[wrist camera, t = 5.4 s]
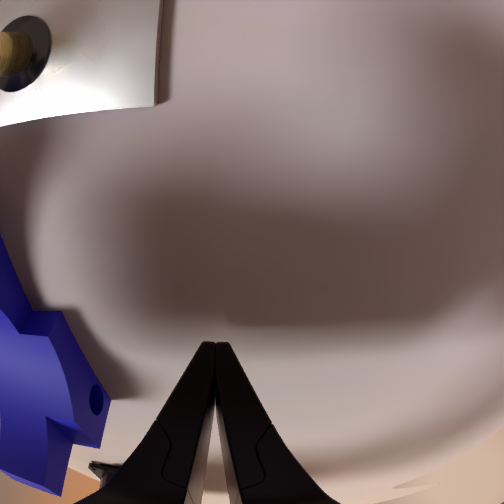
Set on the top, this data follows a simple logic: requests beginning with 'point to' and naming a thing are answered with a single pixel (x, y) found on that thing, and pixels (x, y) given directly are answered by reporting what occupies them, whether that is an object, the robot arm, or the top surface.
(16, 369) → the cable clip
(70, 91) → the steel strip
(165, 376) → the top surface
